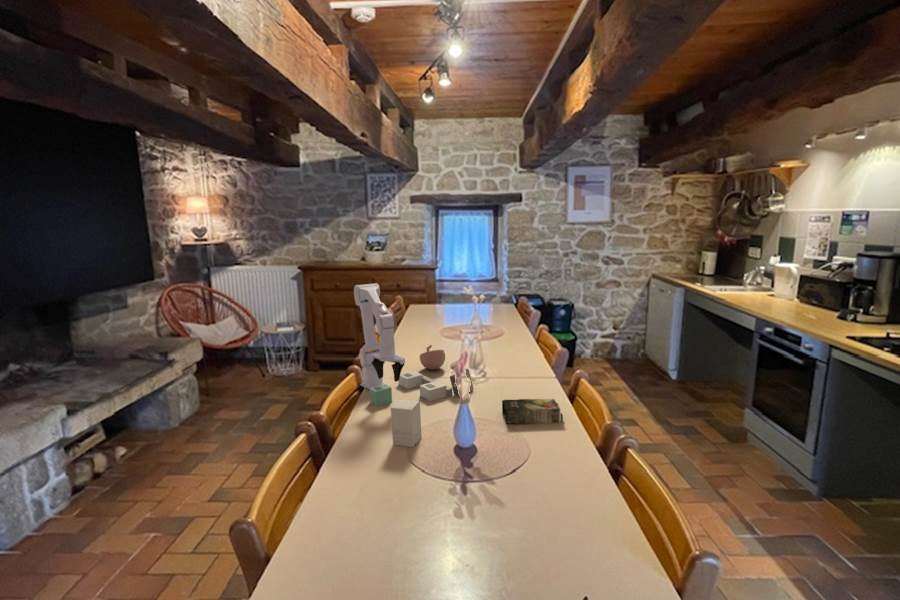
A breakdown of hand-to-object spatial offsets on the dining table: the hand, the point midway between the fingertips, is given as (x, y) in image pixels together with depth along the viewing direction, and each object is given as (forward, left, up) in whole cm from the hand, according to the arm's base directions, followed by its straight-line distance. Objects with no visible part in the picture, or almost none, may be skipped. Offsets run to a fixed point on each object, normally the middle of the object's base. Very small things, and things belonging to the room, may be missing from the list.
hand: (388, 379), depth 179 cm
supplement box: (+31, -11, -10) cm, 34 cm away
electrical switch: (+10, +28, -10) cm, 31 cm away
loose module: (-3, -2, -10) cm, 11 cm away
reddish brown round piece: (-22, +36, -10) cm, 44 cm away
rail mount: (-3, +18, -10) cm, 21 cm away
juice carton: (+44, +32, -10) cm, 56 cm away
